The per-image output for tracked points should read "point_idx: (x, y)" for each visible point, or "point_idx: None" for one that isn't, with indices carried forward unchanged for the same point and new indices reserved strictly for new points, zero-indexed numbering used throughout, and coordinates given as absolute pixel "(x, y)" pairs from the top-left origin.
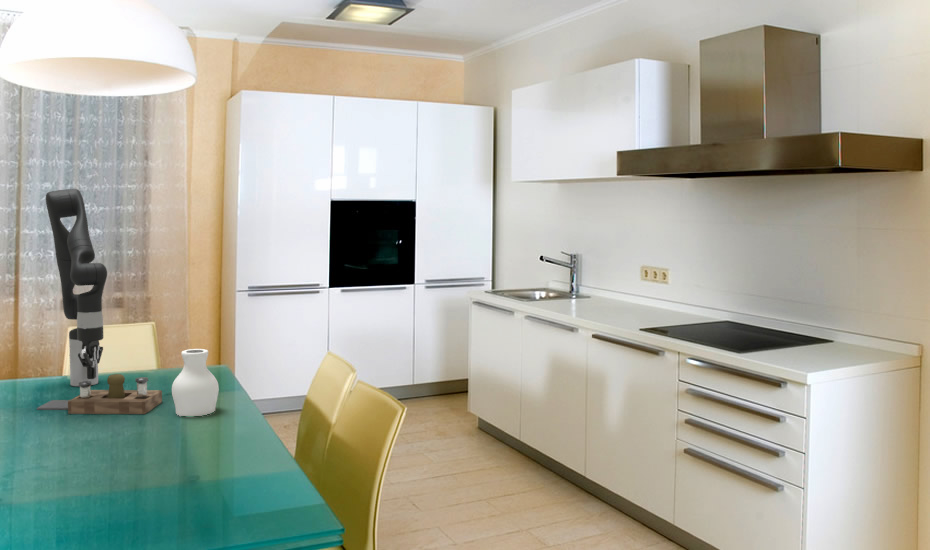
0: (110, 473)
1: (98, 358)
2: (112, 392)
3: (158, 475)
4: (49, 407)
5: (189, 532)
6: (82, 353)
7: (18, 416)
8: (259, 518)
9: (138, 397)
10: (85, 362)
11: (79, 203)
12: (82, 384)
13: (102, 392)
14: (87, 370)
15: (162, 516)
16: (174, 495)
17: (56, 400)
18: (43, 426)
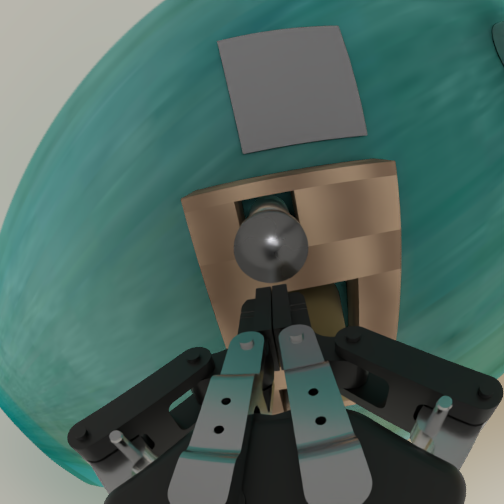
0: (38, 410)
1: (358, 403)
2: None
3: (63, 438)
4: (233, 77)
5: (39, 446)
6: (92, 465)
7: (130, 58)
8: (69, 468)
9: (286, 399)
10: (224, 369)
11: None
12: (234, 255)
13: (360, 247)
14: (239, 331)
15: (36, 438)
16: (54, 444)
17: (338, 41)
18: (70, 221)
